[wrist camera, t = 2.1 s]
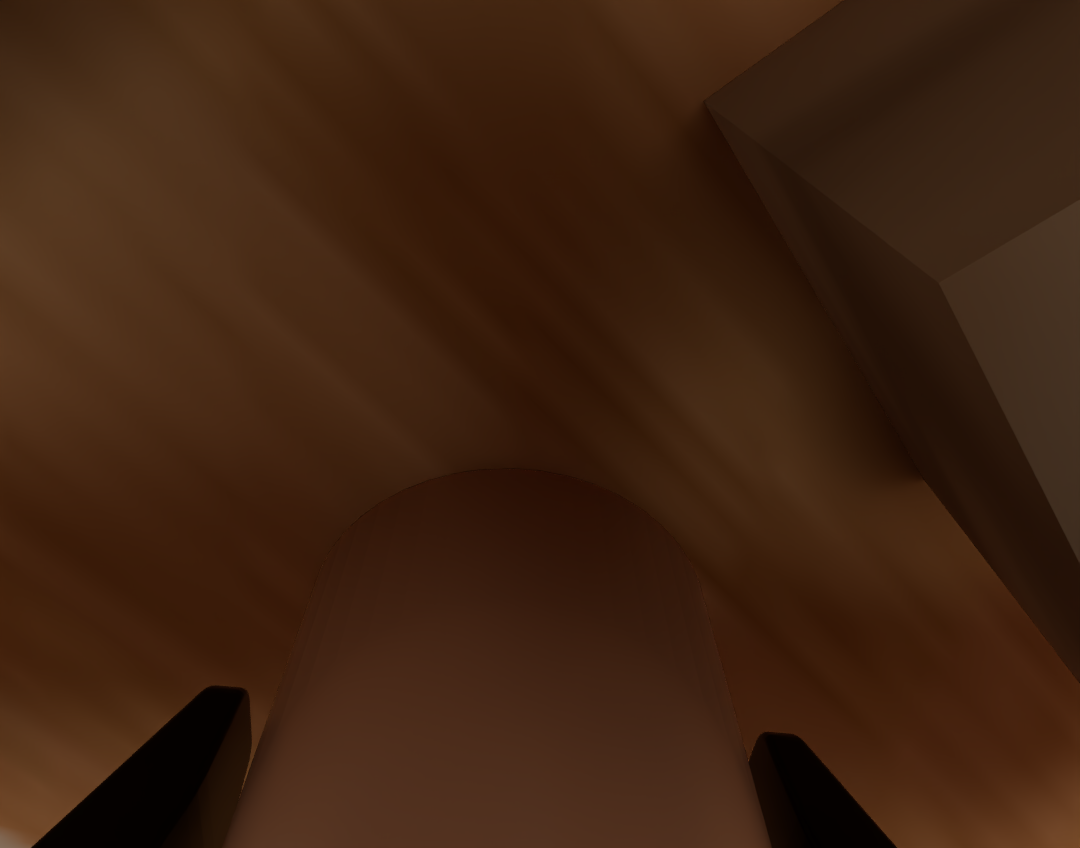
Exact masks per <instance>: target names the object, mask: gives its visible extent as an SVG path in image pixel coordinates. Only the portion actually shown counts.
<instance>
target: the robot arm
mask: <svg viewBox="0 0 1080 848" xmlns="http://www.w3.org/2000/svg"><path fill="white" fill-rule="evenodd" d="M251 745H252V734H251V717H250V700H249V695H248V692H247V690H245V689H243V688H240V687H228V686H210V687H207V688H205V689H204V690H203V691H201V692H200V693H199V694H198V695H197V696H196V697H195V698H194V699H193V700H192V701H191V702H189V703H188V704H187V705H186V706H185V707H184V708H183V709H182V710H181V711H180V712H179V713H177V714H176V715H175V716H174V717H173V718H172V719H171V720H170V721H169V722H168V723H167V724H165V725H164V726H163V727H162V728H161V729H160V730H159V731H158V732H157V733H156V734H155V735H153V736H152V737H151V738H150V739H149V740H148V741H147V742H146V743H145V744H144V745H143V746H141V747H140V748H139V749H138V750H137V751H136V752H135V753H134V754H133V755H132V756H131V757H130V758H128V759H127V760H126V761H125V762H124V763H123V764H122V765H121V766H120V767H119V768H118V769H116V770H115V771H114V772H113V773H112V774H111V775H110V776H109V777H108V778H107V779H106V780H104V781H103V782H102V783H101V784H100V785H99V786H98V787H97V788H96V789H95V790H94V791H92V792H91V793H90V794H89V795H88V796H87V797H86V798H85V799H84V800H83V801H82V802H80V803H79V804H78V805H77V806H76V807H75V808H74V809H73V810H72V811H71V812H70V813H68V814H67V815H66V816H65V817H64V818H63V819H62V820H61V821H60V822H59V823H58V824H56V825H55V826H54V827H53V828H52V829H51V830H50V831H49V832H48V833H47V834H46V835H44V836H43V837H42V838H41V839H40V840H39V841H38V842H37V843H36V844H35V845H34V846H32V847H31V848H222V846H223V844H224V841H225V838H226V835H227V832H228V829H229V827H230V824H231V821H232V818H233V815H234V812H235V809H236V807H237V804H238V801H239V797H240V793H241V790H242V786H243V782H244V778H245V774H246V771H247V767H248V763H249V759H250V753H251ZM748 763H749V766H750V770H751V774H752V777H753V781H754V785H755V788H756V792H757V796H758V799H759V803H760V806H761V810H762V814H763V817H764V821H765V825H766V828H767V832H768V836H769V839H770V843H771V847H772V848H897V847H896V846H895V845H894V844H893V843H892V841H891V840H890V839H889V838H888V837H887V836H886V835H885V833H884V832H883V831H882V830H881V829H880V828H879V827H878V825H877V824H876V823H875V822H874V821H873V820H872V819H871V817H870V816H869V815H868V814H867V813H866V812H865V811H864V809H863V808H862V807H861V806H860V805H859V804H858V803H857V801H856V800H855V799H854V798H853V797H852V796H851V795H850V793H849V792H848V791H847V790H846V789H845V788H844V787H843V785H842V784H841V783H840V782H839V781H838V780H837V779H836V777H835V776H834V775H833V774H832V773H831V772H830V771H829V769H828V768H827V767H826V766H825V765H824V764H823V763H822V761H821V760H820V759H819V758H818V757H817V756H816V755H815V753H814V752H813V751H812V750H811V749H810V748H809V747H808V745H807V744H806V743H805V742H804V741H803V740H802V739H801V738H799V737H798V736H796V735H794V734H787V733H775V732H763V733H762V734H761V735H760V736H759V737H758V739H757V741H756V743H755V746H754V749H753V751H752V754H751V757H750V759H749V762H748Z"/></svg>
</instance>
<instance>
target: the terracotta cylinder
mask: <svg viewBox="0 0 1080 848" xmlns="http://www.w3.org/2000/svg"><path fill="white" fill-rule="evenodd" d="M222 848H772V847H771V843H770V839H769V836H768V832H767V828H766V825H765V821H764V817H763V814H762V810H761V806H760V803H759V799H758V796H757V792H756V788H755V785H754V781H753V777H752V774H751V770H750V766H749V763H748V759H747V755H746V752H745V748H744V744H743V741H742V737H741V733H740V730H739V726H738V723H737V719H736V715H735V712H734V708H733V704H732V701H731V697H730V693H729V690H728V686H727V682H726V679H725V675H724V671H723V668H722V664H721V660H720V657H719V653H718V650H717V646H716V642H715V639H714V635H713V631H712V628H711V624H710V620H709V617H708V613H707V609H706V606H705V602H704V598H703V595H702V591H701V587H700V584H699V581H698V578H697V576H696V574H695V572H694V569H693V567H692V565H691V563H690V561H689V559H688V558H687V556H686V555H685V553H684V552H683V550H682V549H681V547H680V546H679V544H678V543H677V542H676V541H675V540H674V538H673V537H672V536H671V535H670V534H669V533H668V532H667V531H666V530H665V528H664V527H663V526H662V525H660V524H659V523H658V522H657V521H656V520H654V519H653V518H652V517H651V516H650V515H648V514H647V513H646V512H645V511H644V510H642V509H640V508H639V507H637V506H636V505H634V504H632V503H631V502H629V501H628V500H626V499H624V498H623V497H621V496H619V495H617V494H615V493H612V492H610V491H608V490H606V489H604V488H602V487H599V486H597V485H594V484H591V483H588V482H585V481H582V480H579V479H576V478H573V477H569V476H564V475H559V474H554V473H549V472H544V471H535V470H523V469H484V470H477V471H469V472H462V473H456V474H452V475H448V476H444V477H440V478H436V479H432V480H428V481H426V482H423V483H421V484H418V485H416V486H413V487H410V488H408V489H405V490H403V491H401V492H399V493H397V494H395V495H394V496H392V497H390V498H388V499H386V500H384V501H383V502H381V503H379V504H378V505H376V506H375V507H374V508H372V509H371V510H370V511H368V512H367V513H365V514H364V515H363V516H361V517H360V518H359V519H358V520H357V521H356V522H355V523H354V524H353V525H352V526H351V527H350V528H349V529H348V530H347V531H346V532H345V533H343V535H342V536H341V537H340V539H339V540H338V541H337V543H336V544H335V545H334V547H333V548H332V549H331V551H330V552H329V554H328V556H327V557H326V559H325V561H324V563H323V565H322V567H321V569H320V571H319V573H318V576H317V579H316V582H315V585H314V588H313V591H312V593H311V596H310V599H309V602H308V605H307V608H306V610H305V613H304V616H303V619H302V622H301V625H300V627H299V630H298V633H297V636H296V639H295V642H294V645H293V647H292V650H291V653H290V656H289V659H288V662H287V664H286V667H285V670H284V673H283V676H282V679H281V682H280V684H279V687H278V690H277V693H276V696H275V699H274V701H273V704H272V707H271V710H270V713H269V716H268V718H267V721H266V724H265V727H264V730H263V733H262V736H261V738H260V741H259V744H258V747H257V750H256V753H255V755H254V758H253V761H252V764H251V767H250V770H249V772H248V775H247V778H246V781H245V784H244V787H243V790H242V792H241V795H240V798H239V801H238V804H237V807H236V809H235V812H234V815H233V818H232V821H231V824H230V827H229V829H228V832H227V835H226V838H225V841H224V844H223V846H222Z"/></svg>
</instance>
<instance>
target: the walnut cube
mask: <svg viewBox="0 0 1080 848" xmlns="http://www.w3.org/2000/svg"><path fill="white" fill-rule="evenodd" d="M704 103H705V105H706V106H707V108H708V110H709V111H710V113H711V115H712V117H713V118H714V120H715V122H716V123H717V125H718V127H719V129H720V130H721V132H722V134H723V135H724V137H725V139H726V141H727V142H728V144H729V146H730V147H731V149H732V151H733V153H734V154H735V156H736V158H737V159H738V161H739V163H740V165H741V166H742V168H743V170H744V171H745V173H746V175H747V177H748V178H749V180H750V182H751V183H752V185H753V187H754V189H755V190H756V192H757V194H758V195H759V197H760V199H761V201H762V202H763V204H764V206H765V207H766V209H767V211H768V213H769V214H770V216H771V218H772V219H773V221H774V223H775V225H776V226H777V228H778V230H779V232H780V233H781V235H782V237H783V238H784V240H785V242H786V244H787V245H788V247H789V249H790V250H791V252H792V254H793V256H794V257H795V259H796V261H797V262H798V264H799V266H800V268H801V269H802V271H803V273H804V274H805V276H806V278H807V280H808V281H809V283H810V285H811V286H812V288H813V290H814V292H815V293H816V295H817V297H818V298H819V300H820V302H821V304H822V305H823V307H824V309H825V310H826V312H827V314H828V316H829V317H830V319H831V321H832V322H833V324H834V326H835V328H836V329H837V331H838V333H839V334H840V336H841V338H842V340H843V341H844V343H845V345H846V346H847V348H848V350H849V352H850V353H851V355H852V357H853V359H854V360H855V362H856V364H857V365H858V367H859V369H860V371H861V372H862V374H863V376H864V377H865V379H866V381H867V383H868V384H869V386H870V388H871V389H872V391H873V393H874V395H875V396H876V398H877V400H878V401H879V403H880V405H881V407H882V408H883V410H884V412H885V413H886V415H887V417H888V419H889V420H890V422H891V424H892V425H893V427H894V429H895V431H896V432H897V434H898V436H899V437H900V439H901V441H902V443H903V444H904V446H905V448H906V449H907V451H908V453H909V455H910V456H911V458H912V460H913V461H914V463H915V465H916V467H917V468H918V470H919V472H920V474H921V475H922V477H923V479H924V480H925V481H926V483H927V484H928V485H929V487H930V488H931V489H932V491H933V492H934V493H935V495H936V496H937V497H938V498H939V500H940V501H941V502H942V504H943V505H944V506H945V508H946V509H947V510H948V512H949V513H950V514H951V515H952V517H953V518H954V519H955V521H956V522H957V523H958V525H959V526H960V527H961V529H962V530H963V531H964V532H965V534H966V535H967V536H968V538H969V539H970V540H971V542H972V543H973V544H974V546H975V547H976V548H977V549H978V551H979V552H980V553H981V555H982V556H983V557H984V559H985V560H986V561H987V562H988V564H989V565H990V566H991V568H992V569H993V570H994V572H995V573H996V574H997V576H998V577H999V578H1000V579H1001V581H1002V582H1003V583H1004V585H1005V586H1006V587H1007V589H1008V590H1009V591H1010V593H1011V594H1012V595H1013V596H1014V598H1015V599H1016V600H1017V602H1018V603H1019V604H1020V606H1021V607H1022V608H1023V610H1024V611H1025V612H1026V613H1027V615H1028V616H1029V617H1030V619H1031V620H1032V621H1033V623H1034V624H1035V625H1036V627H1037V628H1038V629H1039V630H1040V632H1041V633H1042V634H1043V636H1044V637H1045V638H1046V640H1047V641H1048V642H1049V643H1050V645H1051V646H1052V647H1053V649H1054V650H1055V651H1056V653H1057V654H1058V655H1059V657H1060V658H1061V659H1062V660H1063V662H1064V663H1065V664H1066V666H1067V667H1068V668H1069V670H1070V671H1071V672H1072V674H1073V675H1074V676H1075V677H1076V679H1077V680H1078V681H1079V683H1080V0H844V1H842V2H841V3H840V4H838V5H837V6H835V7H834V8H833V9H831V10H830V11H829V12H827V13H826V14H824V15H823V16H822V17H820V18H819V19H817V20H816V21H815V22H813V23H812V24H810V25H809V26H808V27H806V28H805V29H803V30H802V31H801V32H799V33H798V34H796V35H795V36H794V37H792V38H791V39H789V40H788V41H787V42H785V43H784V44H783V45H781V46H780V47H778V48H777V49H776V50H774V51H773V52H771V53H770V54H769V55H767V56H766V57H764V58H763V59H762V60H760V61H759V62H757V63H756V64H755V65H753V66H752V67H750V68H749V69H748V70H746V71H745V72H743V73H742V74H741V75H739V76H738V77H737V78H735V79H734V80H732V81H731V82H730V83H728V84H727V85H725V86H724V87H723V88H721V89H720V90H718V91H717V92H716V93H714V94H713V95H711V96H710V97H709V98H707V99H706V100H704Z"/></svg>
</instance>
